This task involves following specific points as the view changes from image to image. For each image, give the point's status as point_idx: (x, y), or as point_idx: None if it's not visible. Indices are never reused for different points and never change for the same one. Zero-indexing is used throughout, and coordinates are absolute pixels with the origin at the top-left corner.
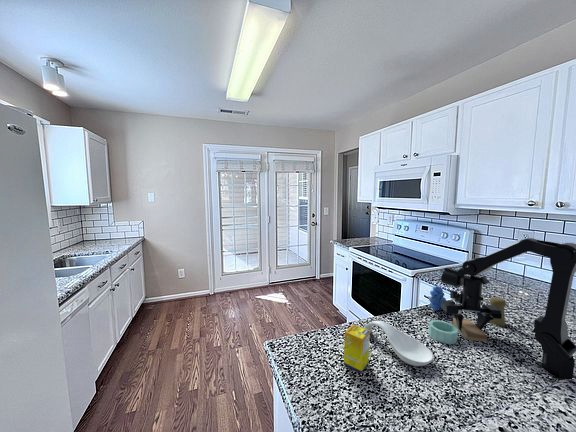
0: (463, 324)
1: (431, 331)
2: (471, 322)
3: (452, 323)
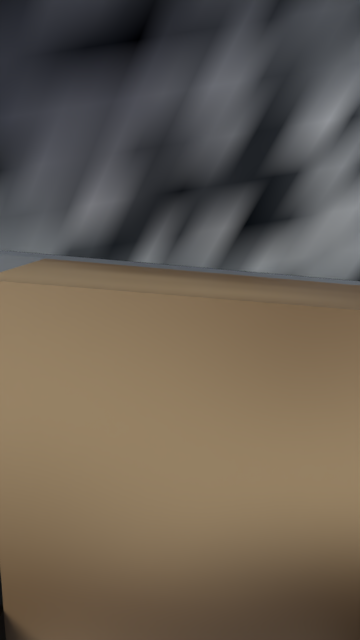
0: (104, 601)
1: None
2: None
3: None
